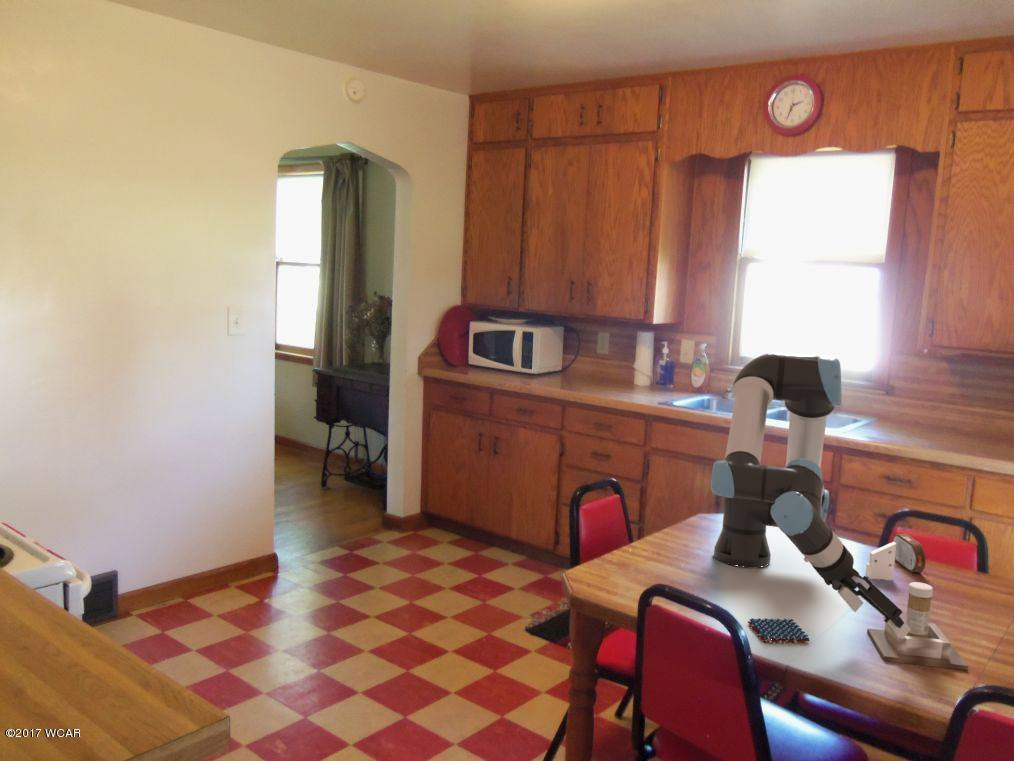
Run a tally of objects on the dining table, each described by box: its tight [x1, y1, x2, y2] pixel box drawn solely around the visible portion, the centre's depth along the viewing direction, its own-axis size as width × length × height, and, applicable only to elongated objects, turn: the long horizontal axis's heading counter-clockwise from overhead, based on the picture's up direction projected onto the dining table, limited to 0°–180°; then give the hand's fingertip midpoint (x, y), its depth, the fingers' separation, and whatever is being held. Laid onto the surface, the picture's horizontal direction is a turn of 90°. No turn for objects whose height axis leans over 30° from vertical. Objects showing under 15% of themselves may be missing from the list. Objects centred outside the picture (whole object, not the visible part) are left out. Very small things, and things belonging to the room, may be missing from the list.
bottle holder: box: [866, 619, 969, 671], centre depth 175 cm, size 16×14×4 cm
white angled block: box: [865, 541, 896, 581], centre depth 219 cm, size 4×10×9 cm, turn 84°
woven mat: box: [747, 617, 810, 645], centre depth 181 cm, size 10×11×2 cm
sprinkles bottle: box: [905, 581, 934, 638], centre depth 175 cm, size 5×5×14 cm
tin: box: [892, 533, 927, 574], centre depth 228 cm, size 15×3×8 cm, turn 179°
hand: (881, 619), depth 172 cm, fingers open, 13 cm apart
